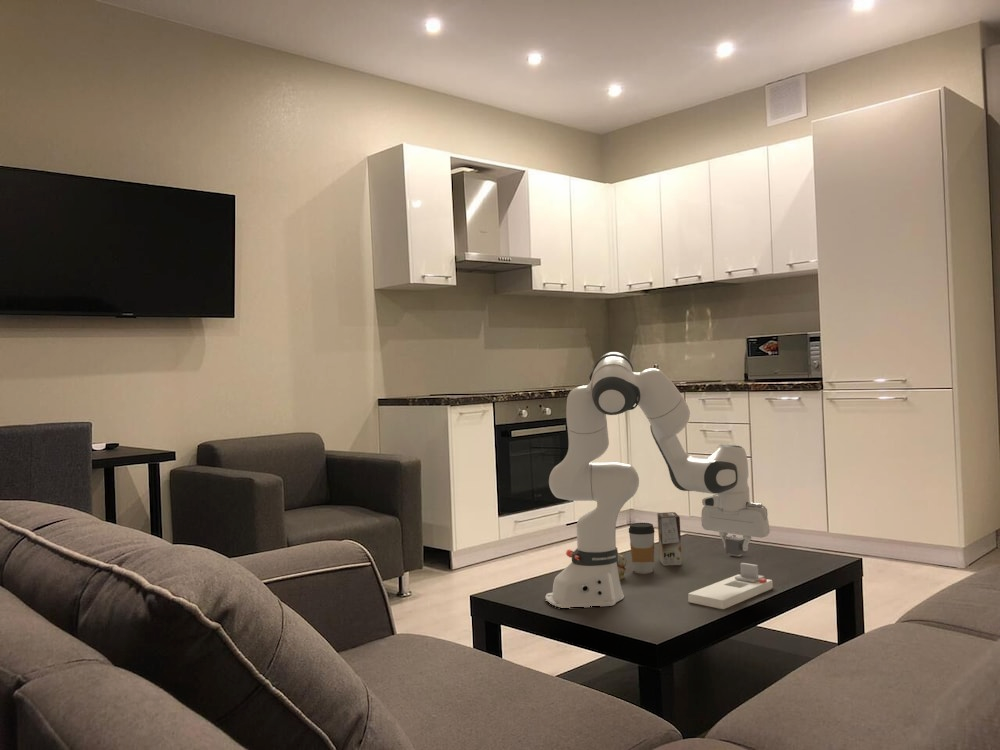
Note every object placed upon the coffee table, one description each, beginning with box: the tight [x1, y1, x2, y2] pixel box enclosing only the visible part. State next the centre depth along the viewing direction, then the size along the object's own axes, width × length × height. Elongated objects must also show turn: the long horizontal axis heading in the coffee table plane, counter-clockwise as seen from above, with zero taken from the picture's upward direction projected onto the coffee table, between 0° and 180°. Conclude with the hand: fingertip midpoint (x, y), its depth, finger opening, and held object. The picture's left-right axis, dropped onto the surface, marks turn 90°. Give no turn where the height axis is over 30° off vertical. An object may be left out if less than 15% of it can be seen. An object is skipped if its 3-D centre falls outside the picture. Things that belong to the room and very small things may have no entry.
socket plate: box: [687, 573, 774, 610], centre depth 229 cm, size 26×11×3 cm, turn 133°
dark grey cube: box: [725, 536, 747, 555], centre depth 231 cm, size 4×4×4 cm
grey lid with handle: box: [735, 562, 765, 582], centre depth 236 cm, size 6×6×4 cm
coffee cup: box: [628, 522, 656, 574], centre depth 261 cm, size 8×8×15 cm
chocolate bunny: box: [618, 552, 628, 581], centre depth 254 cm, size 6×8×10 cm
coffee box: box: [657, 511, 683, 567], centre depth 271 cm, size 9×6×16 cm
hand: (735, 549), depth 231 cm, fingers closed on dark grey cube, 4 cm apart
